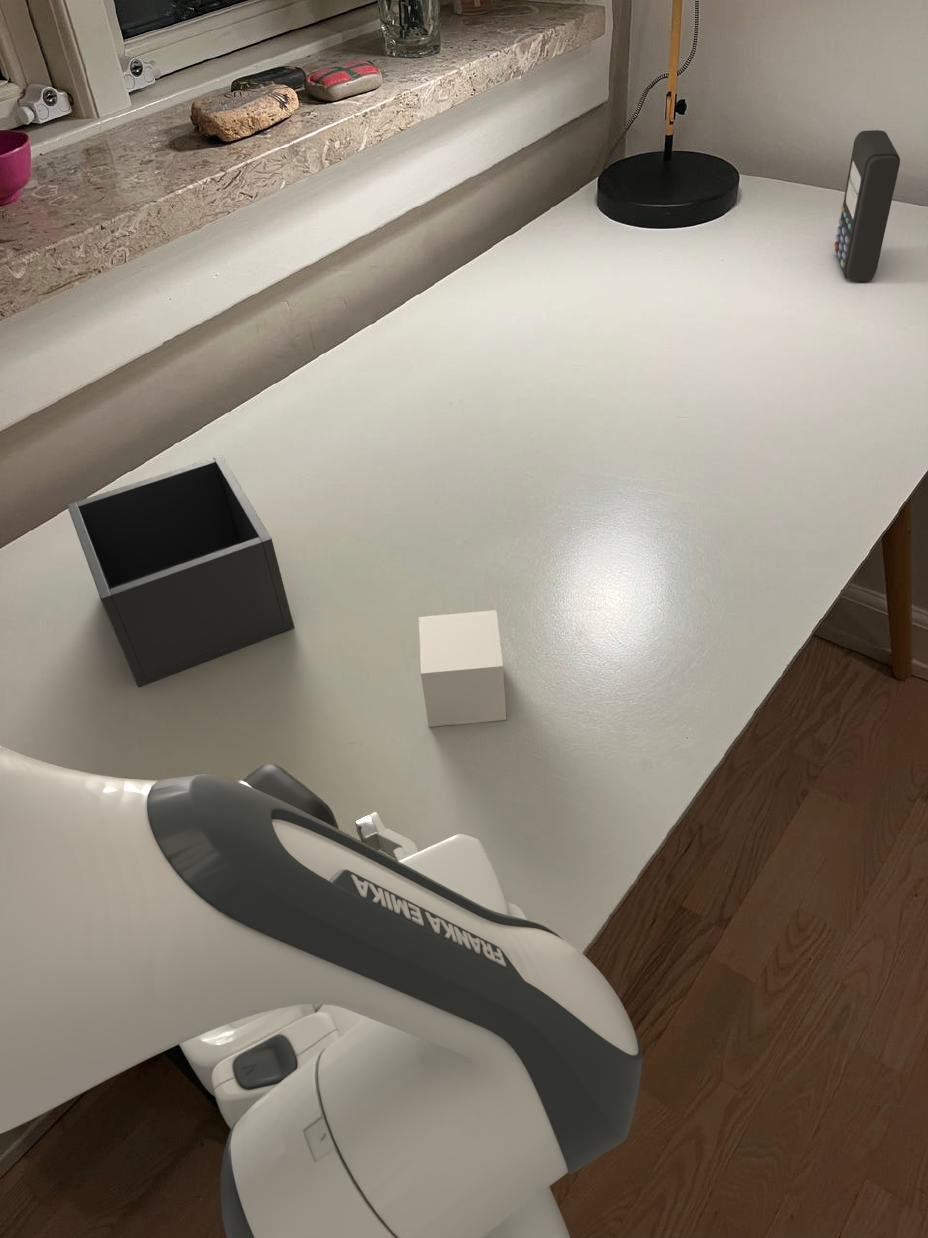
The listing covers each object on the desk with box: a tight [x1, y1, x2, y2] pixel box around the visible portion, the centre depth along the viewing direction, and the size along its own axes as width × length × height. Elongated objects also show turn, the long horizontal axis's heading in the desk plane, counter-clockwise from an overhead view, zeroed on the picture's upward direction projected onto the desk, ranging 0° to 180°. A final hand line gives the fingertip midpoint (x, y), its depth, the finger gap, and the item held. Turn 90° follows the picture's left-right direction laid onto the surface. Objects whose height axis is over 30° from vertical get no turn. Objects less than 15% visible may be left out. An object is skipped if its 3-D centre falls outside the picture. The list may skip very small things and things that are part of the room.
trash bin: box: [66, 454, 295, 688], centre depth 87 cm, size 14×14×10 cm
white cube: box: [418, 609, 507, 728], centre depth 79 cm, size 6×6×6 cm
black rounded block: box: [237, 762, 340, 830], centre depth 65 cm, size 7×4×11 cm, turn 47°
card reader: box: [833, 129, 901, 282], centre depth 123 cm, size 9×4×15 cm, turn 174°
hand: (296, 852), depth 64 cm, fingers open, 8 cm apart
